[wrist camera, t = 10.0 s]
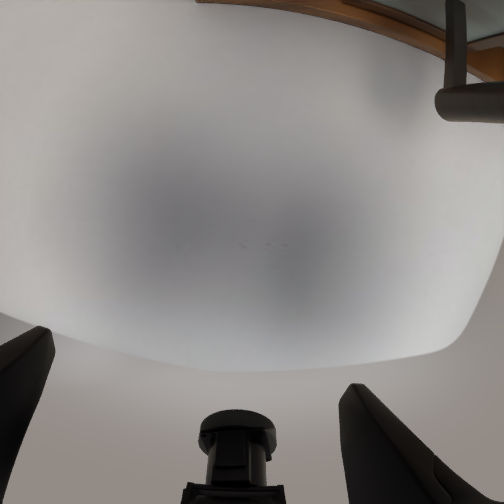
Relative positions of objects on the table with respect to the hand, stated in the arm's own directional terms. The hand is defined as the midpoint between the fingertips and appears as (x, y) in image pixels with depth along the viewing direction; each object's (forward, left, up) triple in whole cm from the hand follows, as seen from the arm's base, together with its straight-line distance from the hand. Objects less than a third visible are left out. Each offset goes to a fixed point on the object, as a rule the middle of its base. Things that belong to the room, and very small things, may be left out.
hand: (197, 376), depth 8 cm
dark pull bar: (+10, -12, -11) cm, 19 cm away
